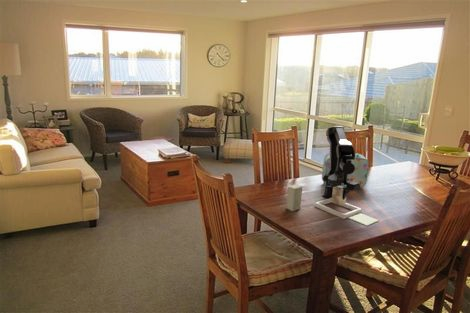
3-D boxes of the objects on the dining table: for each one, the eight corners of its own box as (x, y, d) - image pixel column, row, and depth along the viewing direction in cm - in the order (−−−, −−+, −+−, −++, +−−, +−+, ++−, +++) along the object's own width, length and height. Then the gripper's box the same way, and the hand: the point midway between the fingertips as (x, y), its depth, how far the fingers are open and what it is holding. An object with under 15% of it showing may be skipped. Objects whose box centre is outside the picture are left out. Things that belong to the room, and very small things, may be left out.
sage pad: (348, 218, 173) (348, 217, 173) (360, 213, 179) (360, 213, 179) (366, 226, 166) (366, 225, 165) (378, 221, 172) (378, 220, 171)
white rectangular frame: (314, 206, 186) (314, 202, 186) (331, 200, 195) (332, 197, 195) (344, 218, 172) (344, 215, 172) (361, 212, 181) (362, 208, 181)
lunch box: (362, 184, 225) (367, 151, 220) (368, 190, 215) (373, 155, 210) (319, 182, 225) (323, 149, 220) (323, 188, 215) (327, 153, 210)
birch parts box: (331, 201, 183) (333, 186, 181) (337, 200, 186) (339, 185, 184) (339, 205, 179) (341, 189, 177) (345, 203, 182) (347, 187, 180)
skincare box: (294, 206, 186) (296, 183, 183) (300, 208, 182) (302, 186, 179) (285, 208, 182) (287, 185, 179) (292, 211, 179) (294, 188, 176)
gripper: (317, 166, 180) (314, 195, 184) (349, 175, 166) (345, 207, 170) (331, 163, 187) (328, 191, 191) (362, 172, 173) (358, 202, 177)
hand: (339, 197), depth 182 cm, fingers closed on birch parts box, 5 cm apart
